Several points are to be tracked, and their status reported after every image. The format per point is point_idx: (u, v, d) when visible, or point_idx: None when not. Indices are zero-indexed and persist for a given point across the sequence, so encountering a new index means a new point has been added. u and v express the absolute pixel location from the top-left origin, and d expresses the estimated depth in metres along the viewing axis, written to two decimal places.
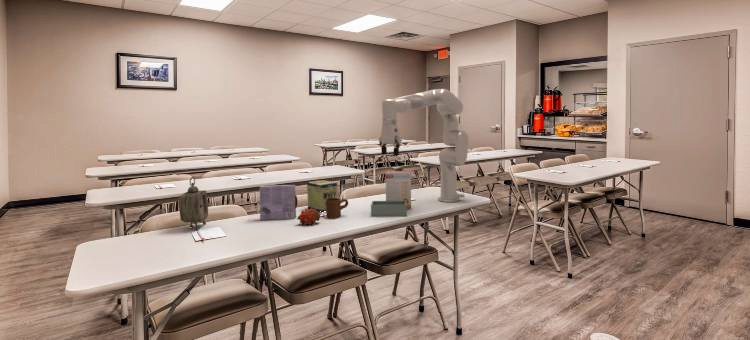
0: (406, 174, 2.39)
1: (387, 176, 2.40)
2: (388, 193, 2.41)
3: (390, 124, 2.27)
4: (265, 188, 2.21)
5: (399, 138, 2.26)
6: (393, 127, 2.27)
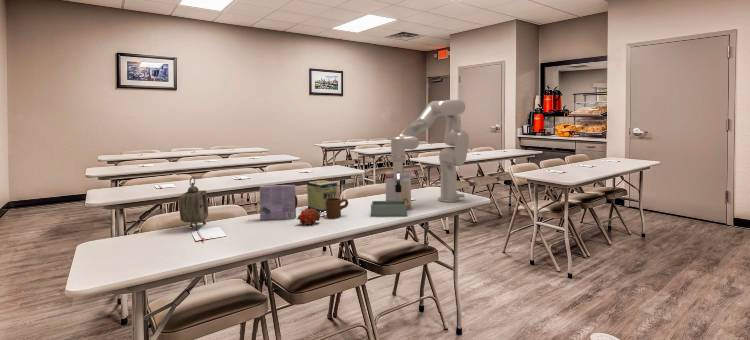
0: (406, 174, 2.39)
1: (387, 176, 2.40)
2: (388, 193, 2.41)
3: None
4: (265, 188, 2.21)
5: None
6: None
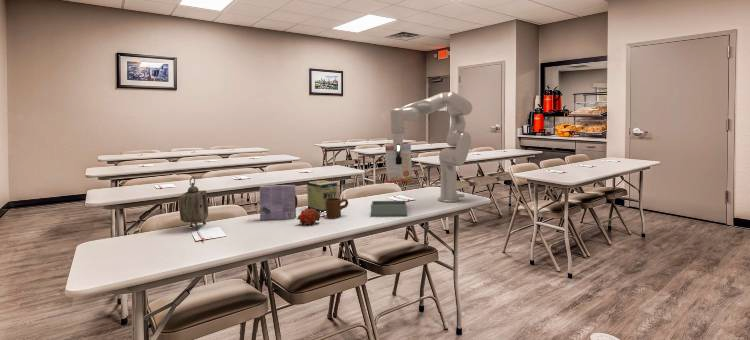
0: (406, 146, 2.37)
1: (387, 148, 2.38)
2: (388, 166, 2.39)
3: None
4: (265, 188, 2.21)
5: None
6: None
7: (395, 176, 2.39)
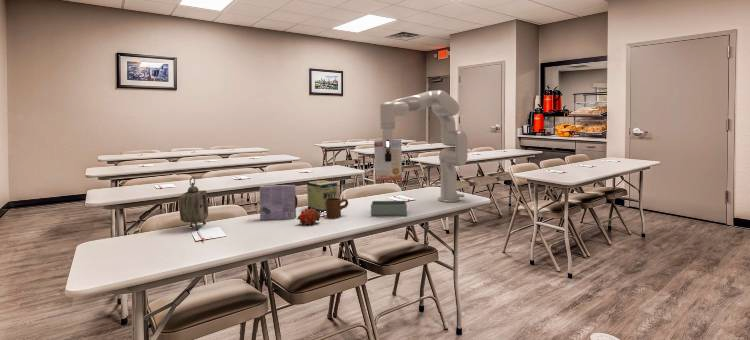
0: (396, 142, 2.23)
1: (376, 144, 2.25)
2: (377, 163, 2.26)
3: None
4: (265, 188, 2.21)
5: None
6: None
7: (383, 174, 2.26)
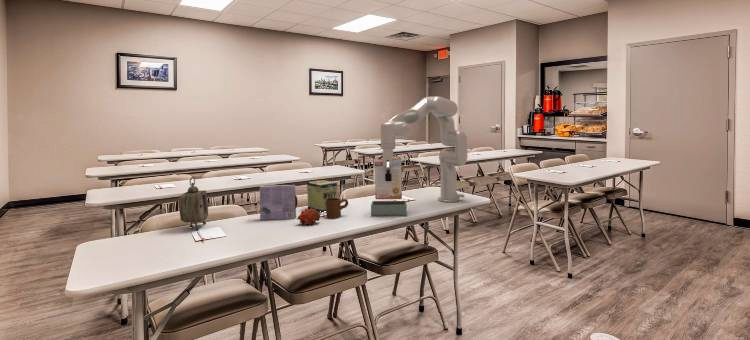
0: (396, 162, 2.25)
1: (376, 164, 2.26)
2: (377, 182, 2.27)
3: None
4: (265, 188, 2.21)
5: None
6: None
7: (384, 194, 2.28)
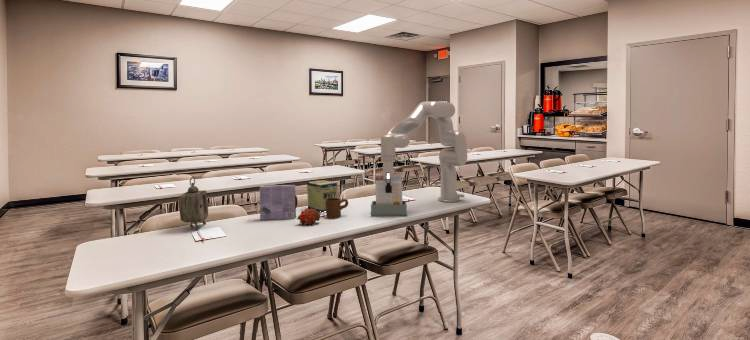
0: (397, 176, 2.26)
1: (377, 178, 2.27)
2: (378, 196, 2.28)
3: None
4: (265, 188, 2.21)
5: None
6: None
7: None
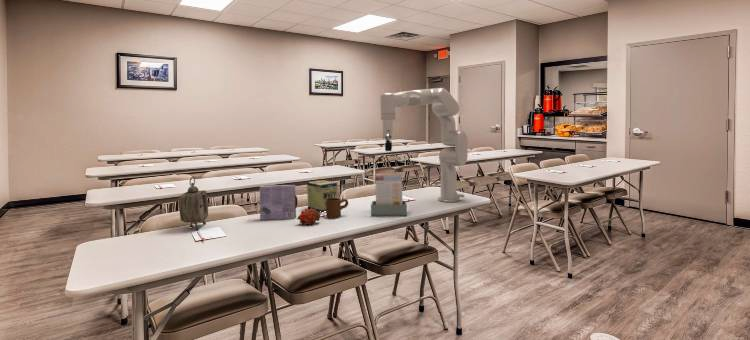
0: (397, 176, 2.26)
1: (377, 178, 2.27)
2: (378, 196, 2.28)
3: None
4: (265, 188, 2.21)
5: None
6: None
7: None
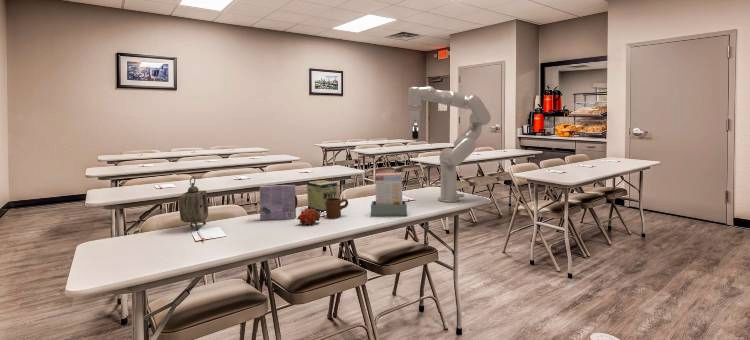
0: (397, 176, 2.26)
1: (377, 178, 2.27)
2: (378, 196, 2.28)
3: None
4: (265, 188, 2.21)
5: None
6: None
7: None
